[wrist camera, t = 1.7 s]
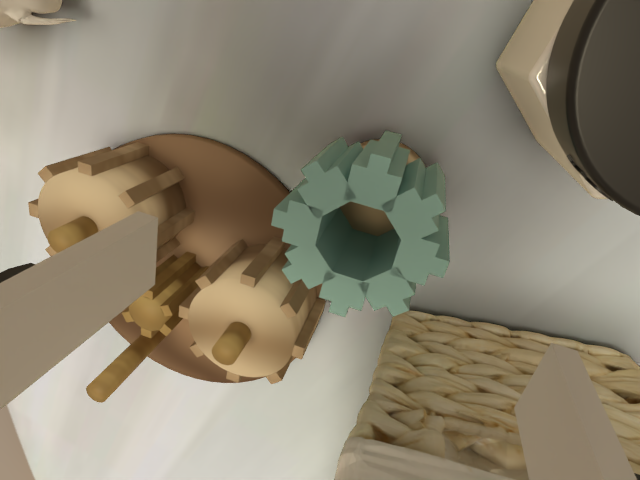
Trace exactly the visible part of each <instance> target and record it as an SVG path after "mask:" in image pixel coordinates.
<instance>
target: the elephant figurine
mask: <svg viewBox="0 0 640 480" xmlns="http://www.w3.org/2000/svg"><path fill="white" fill-rule="evenodd" d="M61 4H62V0H0V28H4V27H9V26H13V25H17V24H19V23H22V24H27V25H54V24H59V23H65V22H70V21H76V20H73V19H68V18H66V19H47V18H40V17H35V16H32V13H31V12H36V13H40V14H44V13H54V12H57V11H58V10H59V9H60V8H61Z"/></svg>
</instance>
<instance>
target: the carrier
mask: <svg viewBox="0 0 640 480" xmlns="http://www.w3.org/2000/svg"><path fill="white" fill-rule="evenodd" d="M38 174H39V176H40V177H41V178H42V179H43V181H44V182H46V183H45V184H44V186H43V187H42V189H41V192H40V195H39V199H36V200H34V201H31V202H28V204H29V213H30V215H31V216H34V217H37V218H39V220H40V223H41V226H42V229H43V232H44V234H45V236H46V238H47V239H48V242H49V244H50V246H49V247H48V248H46V249H45V250H46V251H47V252H48V253H49V255H50V256H53V255H55V254H57V253H59V252H61V251H63V250H65V249H67V248H68V247H70V246H72V245H74V244H76V243H78V242H80V241H82V240H84V239H86V238H88V237H90V236H92V235H93V234H95V233H97V232H99V231H101V230H103V229H105V228H107V227H109V226H111V225H113V224H115V223H117V222H118V221H120V220H122V219H124V218H126V217H128V216H130V215H132V214H134V213H136V212H138V211H139V212H142V213H146V214H149V215H152V216H155V217H158V233H157V254H156V275H155V285H154V286H153V287H152V288H150V289H149V290H148V291H147V292H145V293H144V294H143V295H142V296H140V297H139V298H138V299H137V300H136V301H134V302H133V303H132V304H131V305H129V306H128V307H127V308H126V309H124V310H123V311H122V312H121V313H119V314H118V315H117V316H116V317H115V318H113V319H112V320H111V321H110V322H109V323H110V324H111V325H112V326H113V327H114V328H115V330H116V331H117V332H118V333H119V334H120V335H121V336H123V337H124V338H125V339H126V340H127V341H128V342H129V343H130V344H131V345H130V346H129V347H128V348H127V349H126V350H125V351H123V352H122V353H121V354H120V355H119V356H118V357H117V358H116V359H115V360H114V361H113V362H112V363H111V364H110V365H109V366H108V367H107V368H106V369H105V370H104V371H103V372H102V373H101V374H100V375H99V376H98V377H96V378H95V379H94V380H93V381H92V382H91V383H90V384H89V385H88V386H87V388H86V391H87V393H88V395H89V396H90V397H91V398H92V399H93V400H95V401H97V402H104V401H105V400H106V399H107V398H108V397H109V396H110V395H111V394H112V393H113V392H114V391H115V390H116V389H117V388H118V387H119V386H120V385H121V383H122V382H123V381H124V380H125V379H126V378H127V377H128V376H129V375H130V374H131V373H132V372H133V371H134V370H135V369H136V368H137V367H138V365H139V364H140V363H141V362H142V361H143V360H144V359H145V358H146V357H147V356H148V357H149V358H151V359H152V360H154V361H155V362H157V363H159V364H161V365H163V366H165V367H167V368H169V369H171V370H173V371H176V372H178V373H181V374H183V375H186V376H190V377H193V378H196V379H201V380H206V381H210V382H221V383H239V382H246V381H253V380H256V379H260V378H263V377H266V378H267V379H268V380H269V382H270V383H271V384H273V383H276V382H279V381H282V379H283V377H284V375H285V373H286V371H287V369H288V367H289V365H290V363H291V362H292V361H293V360H294V359H295V358H299V359H302V358H303V355H304V353H305V351H306V349H307V346H308V344H309V342H310V340H311V337H312V335H313V333H314V331H315V329H316V327H317V324H318V322H319V319H320V317H321V315H322V313H323V310H324V306H325V302H326V301H325V299H323V298H320V297H319V295H320V291H321V287H322V284H319V285H317V286H315V287H313V288H311V289H308V288H307V286H306V285H305V283H304V282H303V281H302V279H300V280H298V281H296V282H294V283H292V284H291V283H290V282H289V280H288V279H287V277H286V276H285V274H284V273H283V271H282V268H283V267H284V265H285V264H286V263H287V261H288V258H287V257H286V255H285V252H286V251H287V250H288V248H289V247H290V246H291V244H289V243H285V242H282V237H283V232H284V229H281V228H278V227H275V226H271V223H272V217H273V211H274V208H275V207H276V206H277V205H278V204H279V203H280V202H281V201H282V200H283V199H284V198H285V197H287V196H288V195H289V194H290V192H289V191H288V190H287V189H286V188H285V187H284V186H283V185H282V183H281V182H280V181H279V180H278V179H277V178H276V177H274V176H273V175H272V174H271V173H270V172H269V171H267V170H266V169H265V168H264V167H263V166H262V165H260V164H259V163H257V162H256V161H254V160H253V159H251V158H250V157H248V156H247V155H245V154H243V153H241V152H239V151H237V150H235V149H233V148H231V147H229V146H227V145H225V144H222V143H219V142H217V141H214V140H211V139H208V138H203V137H198V136H194V135H186V134H162V135H153V136H149V137H145V138H141V139H138V140H135V141H131V142H129V143H126V144H124V145H122V146H120V147H117V148H115V149H114V150H111V148H110V147H107V148H104V149H100V150H97V151H94V152H90V153H87V154H84V155H81V156H77V157H74V158H71V159H68V160H64V161H61V162H58V163H54V164H51V165H48V166H45V167H44V168H43V169H42V170H41V171H40V172H39V173H38Z"/></svg>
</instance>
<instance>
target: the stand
mask: <svg viewBox="0 0 640 480" xmlns="http://www.w3.org/2000/svg"><path fill="white" fill-rule="evenodd" d="M374 140H375V141H379V140H380V139H374ZM369 141H370V140H369ZM369 141H366V142H363V143H360V144H361V146H362V148H363V149H364V148H365V146H366V145H367V144H368V142H369ZM398 147H401V148H405V149H409V150H410V153H409V156H408V160H407V163H406V165H407V164H409V163H411V162H413V161H415V160H416V159H418V158H420V157H419V156H418V155H417V154H416V153H415V152H414V151H413V150H412V149H410V148H409V147H407V146H406V145H404V144H402V143H399V146H398ZM422 162H423V161H422ZM423 164H424V163H423ZM424 166H425V164H424ZM340 209H341V211H342V212H343V214H344V215H345V217H346V219H347V220H348V222H349V224H350V225H351V227H352V228H353V229H355V230H358V231H361V232H365V233H368V234H371V235H375V236H380V235H382V234H384V233H386V232H388V231H390V230H393V229H394V227H393V225H392V224H391V222H390V220H389V219H388V217H387V215H386V213H385V212H384V211H382V210H379V209H375V208H372V207H368V206H365V205H362V204H358V203H355V202H351V201H350V202H348V203H346V204H344V205H342V206H341V207H340Z"/></svg>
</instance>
